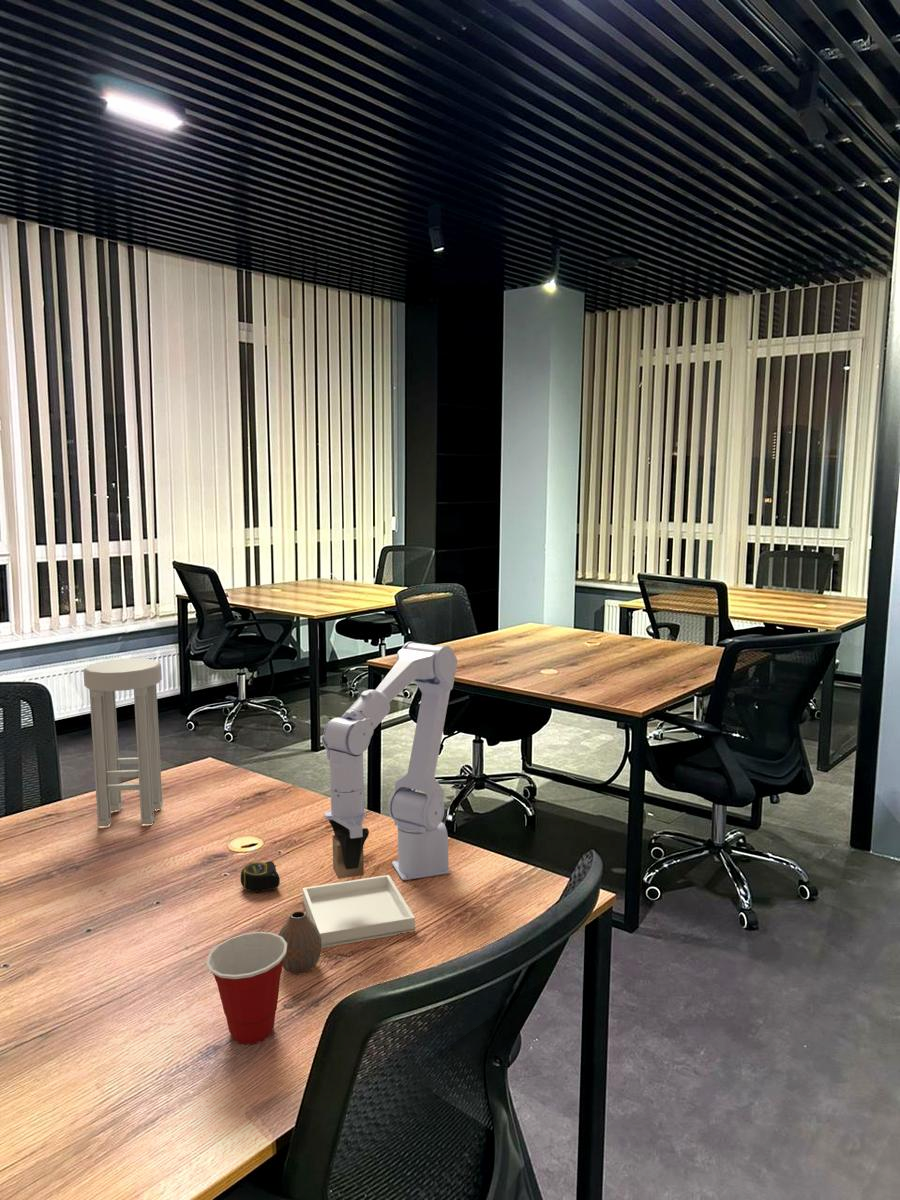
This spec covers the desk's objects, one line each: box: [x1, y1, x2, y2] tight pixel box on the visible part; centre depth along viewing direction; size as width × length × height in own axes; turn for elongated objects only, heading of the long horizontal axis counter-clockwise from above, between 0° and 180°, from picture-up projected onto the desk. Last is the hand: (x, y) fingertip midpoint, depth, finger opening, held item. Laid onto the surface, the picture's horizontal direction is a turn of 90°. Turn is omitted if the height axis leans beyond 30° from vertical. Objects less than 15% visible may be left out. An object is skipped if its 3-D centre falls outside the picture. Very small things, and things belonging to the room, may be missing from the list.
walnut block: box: [331, 834, 365, 880], centre depth 154 cm, size 4×4×6 cm
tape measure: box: [240, 860, 281, 893], centre depth 164 cm, size 7×7×4 cm
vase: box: [278, 910, 323, 975], centre depth 137 cm, size 7×7×9 cm
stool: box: [83, 657, 164, 827], centre depth 196 cm, size 16×16×35 cm
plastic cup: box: [205, 931, 287, 1045], centre depth 120 cm, size 11×11×12 cm
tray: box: [302, 874, 416, 949], centre depth 153 cm, size 16×17×2 cm
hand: (348, 861), depth 154 cm, fingers closed on walnut block, 4 cm apart
